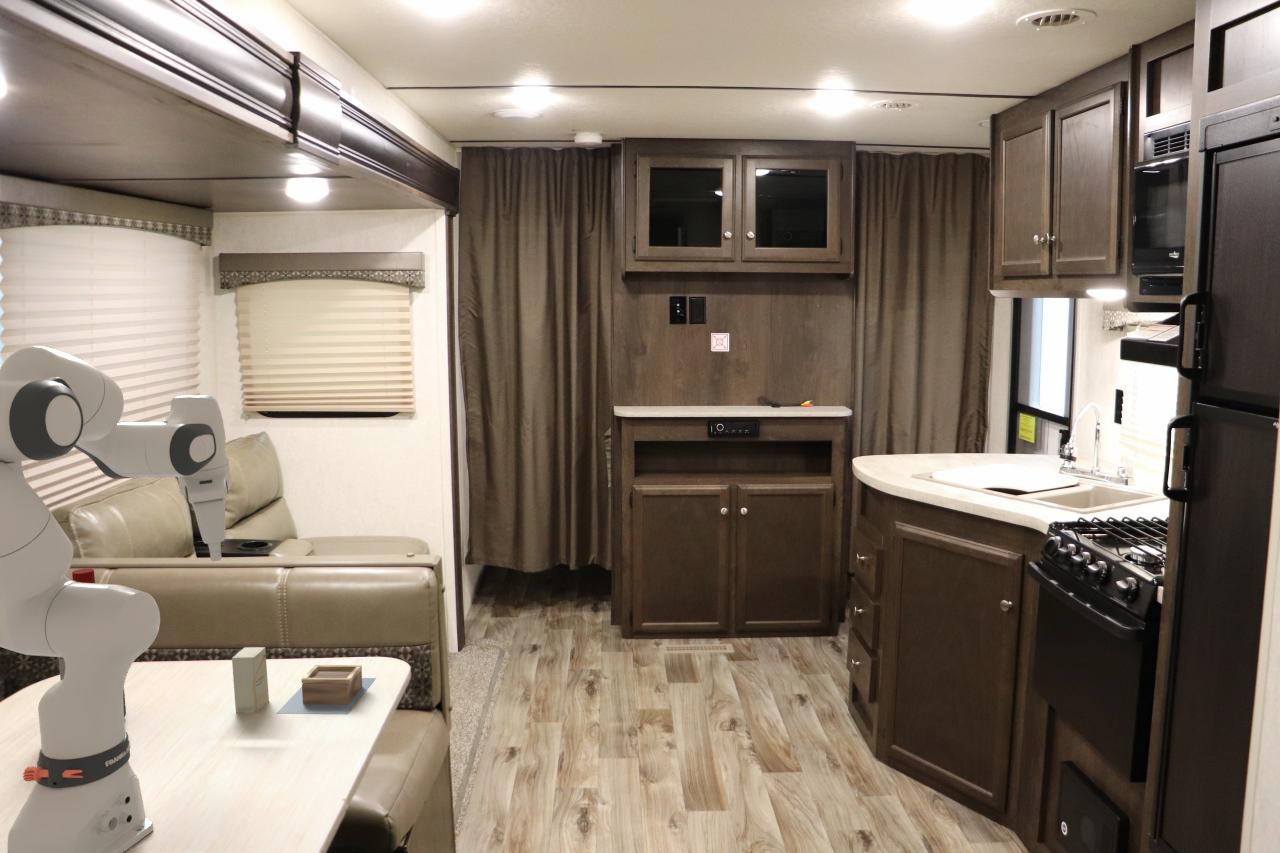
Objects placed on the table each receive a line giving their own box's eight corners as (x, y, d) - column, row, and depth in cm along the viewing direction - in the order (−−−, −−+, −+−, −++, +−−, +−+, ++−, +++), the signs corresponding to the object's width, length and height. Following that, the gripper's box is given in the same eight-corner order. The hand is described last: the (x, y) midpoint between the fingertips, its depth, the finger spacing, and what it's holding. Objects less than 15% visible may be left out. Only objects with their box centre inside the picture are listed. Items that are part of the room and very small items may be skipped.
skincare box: (257, 718, 193) (253, 657, 192) (234, 718, 194) (230, 657, 192) (270, 704, 200) (266, 646, 198) (248, 704, 200) (244, 646, 198)
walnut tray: (349, 704, 197) (348, 681, 196) (301, 703, 198) (300, 680, 197) (363, 686, 206) (362, 664, 205) (317, 685, 206) (316, 663, 206)
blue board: (348, 718, 193) (347, 714, 193) (276, 718, 193) (276, 713, 193) (376, 682, 211) (376, 678, 210) (310, 681, 211) (310, 677, 211)
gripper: (184, 470, 191) (194, 539, 194) (188, 496, 173) (198, 572, 176) (219, 466, 194) (228, 533, 197) (227, 491, 176) (237, 565, 179)
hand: (214, 552), depth 187 cm, fingers open, 8 cm apart
